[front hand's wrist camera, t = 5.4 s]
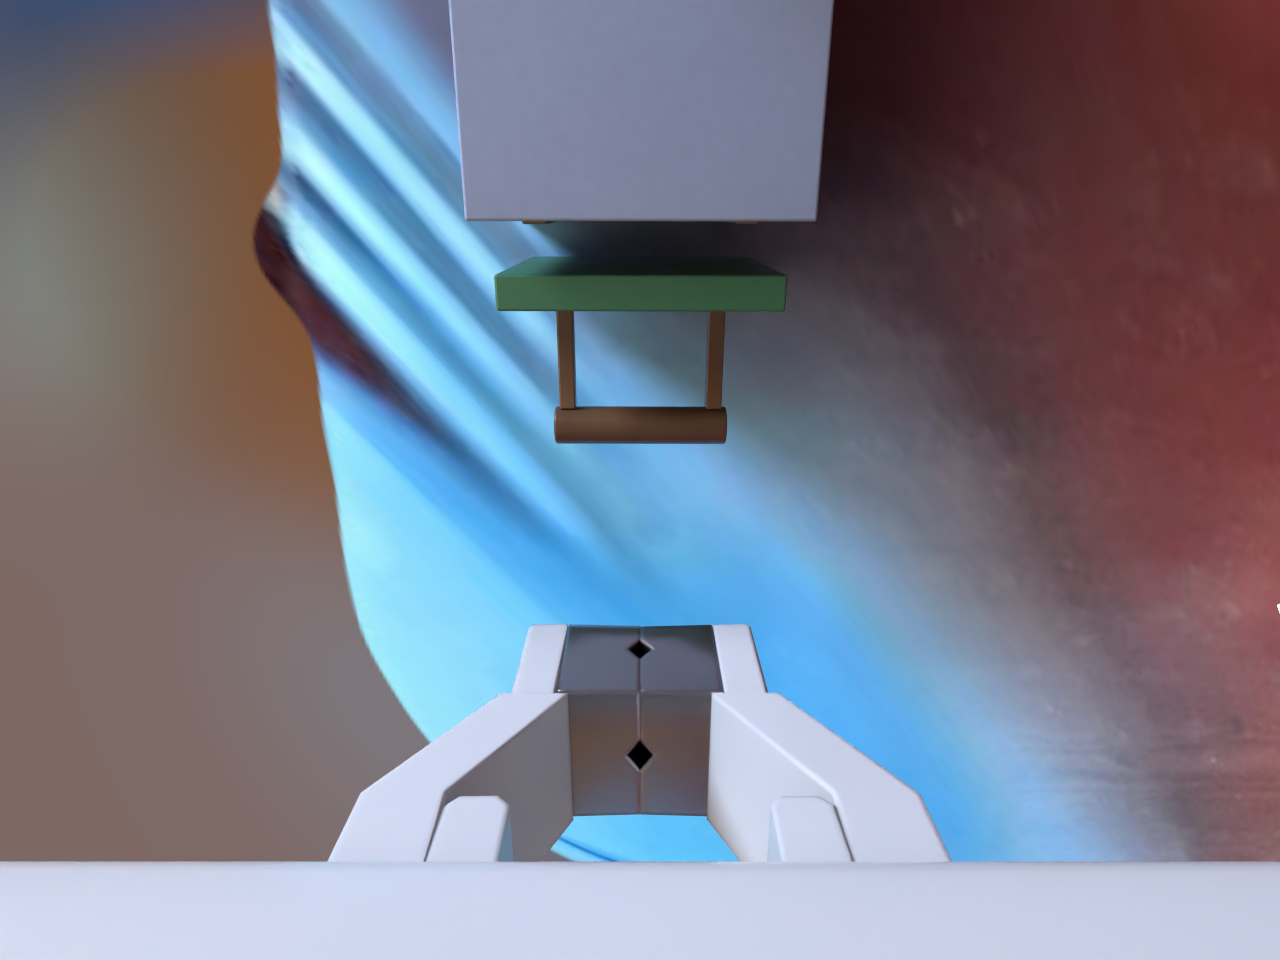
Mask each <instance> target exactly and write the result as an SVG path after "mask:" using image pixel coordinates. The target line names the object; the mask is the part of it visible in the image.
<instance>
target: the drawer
mask: <svg viewBox="0 0 1280 960" xmlns="http://www.w3.org/2000/svg"><path fill="white" fill-rule="evenodd" d="M552 222H558V221H522V223H523V224H547V223H552ZM724 222H729V223H734V224H758V223H759V221H724ZM494 280H495V295H496V309H497V310H498V311H556V315H557V342H558V370H559V397H560V406H558V407H556V409H555V415H554V434H555V441H556V443H601V444H724V443H725V441H726V435H727V413H726V409H725V407H721V403H722V379H723V354H724V329H725V311H784V310H785V305H786V290H787V276H786V275H784V274H782V273H780V272H778V271H776V270H774V269H772V268H770V267H768V266H766V265H764V264H762V263H760V262H758V261H756V260H754V259H751V258H749V257H532V258H530V259H528V260H525V261H523V262H521V263H519V264H517V265H515V266H513V267H511V268H509V269H507V270H505V271H503V272H500V273H498V274H496V275H495V277H494ZM574 311H708V317H707V348H706V379H705V407H576V404H577V403H576V368H575V333H574Z"/></svg>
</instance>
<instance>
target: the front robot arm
mask: <svg viewBox="0 0 1280 960" xmlns="http://www.w3.org/2000/svg"><path fill="white" fill-rule="evenodd" d="M1277 606H1278V608H1279V611H1280V604H1279V605H1277ZM630 814H648V815H684V816H707V820H708V821H709V822H710V824H711V825H712V826H713V828H714V829H715V830H716V831H717V833H718V834H719V835H720V836H721V838H722V839H723V840H724V842H725V843H726V844H727V845H728V847H729V848H730V849H731V851H732V852H733V853H734V854H735V856H736V857H737V858H738V859H739V861H740V862H540V861H541V860H542V859H543V857H544V856H545V855H546V854H547V852H548V851H549V850H550V849H551V847H552V846H553V845H554V844H555V842H556V841H557V840H558V838H559V837H560V836H561V835H562V833H563V832H564V831H565V830H566V828H567V827H568V826H569V824H570V823H571V822H572V821H573V816H595V815H630ZM0 960H1280V862H952V860H951V858H950V856H949V854H948V851H947V849H946V847H945V845H944V843H943V841H942V839H941V837H940V835H939V833H938V830H937V828H936V826H935V824H934V822H933V820H932V818H931V816H930V814H929V812H928V809H927V807H926V805H925V803H924V801H923V799H922V797H921V795H920V794H919V793H918V792H917V791H915V790H914V789H912V788H911V787H910V786H908V785H907V784H905V783H904V782H903V781H901V780H900V779H898V778H897V777H896V776H894V775H893V774H891V773H890V772H889V771H887V770H886V769H884V768H883V767H882V766H880V765H879V764H877V763H876V762H875V761H873V760H872V759H870V758H869V757H868V756H866V755H865V754H863V753H862V752H861V751H859V750H858V749H856V748H855V747H854V746H852V745H851V744H849V743H848V742H847V741H845V740H844V739H842V738H841V737H840V736H838V735H837V734H835V733H834V732H833V731H831V730H830V729H828V728H827V727H826V726H824V725H823V724H821V723H820V722H819V721H817V720H816V719H814V718H813V717H812V716H810V715H809V714H807V713H806V712H805V711H803V710H802V709H800V708H799V707H797V706H796V705H795V704H793V703H792V702H790V701H789V700H788V699H786V698H785V697H783V696H782V695H781V694H779V693H768V690H767V687H766V683H765V679H764V676H763V672H762V668H761V664H760V661H759V657H758V653H757V650H756V646H755V642H754V638H753V635H752V631H751V627H750V626H749V625H748V624H728V625H689V626H649V627H640V626H617V625H569V626H568V625H567V624H537V625H532V626H531V627H530V628H529V630H528V634H527V638H526V641H525V645H524V649H523V653H522V656H521V660H520V664H519V668H518V672H517V675H516V679H515V683H514V687H513V690H512V693H501V694H499V695H498V696H497V697H495V698H494V699H492V700H491V701H490V702H488V703H487V704H485V705H484V706H482V707H481V708H480V709H478V710H477V711H475V712H474V713H473V714H471V715H470V716H468V717H467V718H466V719H464V720H463V721H461V722H460V723H459V724H457V725H456V726H454V727H453V728H451V729H450V730H449V731H447V732H446V733H444V734H443V735H442V736H440V737H439V738H437V739H436V740H435V741H433V742H432V743H430V744H429V745H428V746H426V747H425V748H423V749H422V750H420V751H419V752H418V753H416V754H415V755H413V756H412V757H411V758H409V759H408V760H406V761H405V762H404V763H402V764H401V765H399V766H398V767H397V768H395V769H394V770H392V771H391V772H389V773H388V774H387V775H385V776H384V777H382V778H381V779H380V780H378V781H377V782H375V783H374V784H373V785H371V786H370V787H368V788H367V789H366V790H364V791H363V792H361V794H360V796H359V798H358V800H357V802H356V804H355V806H354V808H353V810H352V812H351V814H350V816H349V818H348V820H347V823H346V825H345V827H344V829H343V831H342V833H341V835H340V837H339V839H338V841H337V843H336V845H335V847H334V849H333V852H332V854H331V856H330V858H329V860H328V862H0Z"/></svg>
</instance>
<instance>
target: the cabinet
mask: <svg viewBox="0 0 1280 960" xmlns="http://www.w3.org/2000/svg"><path fill="white" fill-rule="evenodd" d="M833 9H834V0H449V12H450V25H451V39H452V52H453V65H454V79H455V92H456V105H457V119H458V132H459V145H460V159H461V172H462V185H463V199H464V212H465V219H466V220H467V221H812V222H814V221H816V219H817V211H818V199H819V186H820V173H821V161H822V148H823V135H824V123H825V110H826V97H827V85H828V72H829V59H830V47H831V34H832V21H833Z"/></svg>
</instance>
